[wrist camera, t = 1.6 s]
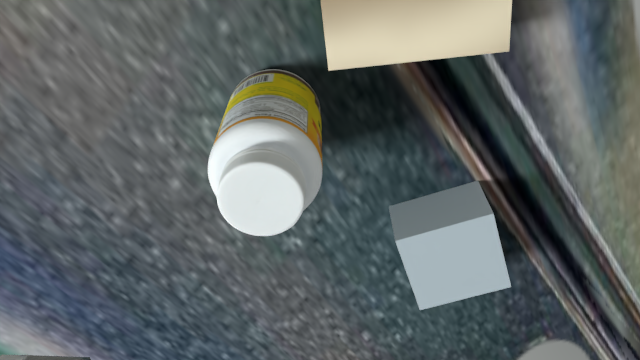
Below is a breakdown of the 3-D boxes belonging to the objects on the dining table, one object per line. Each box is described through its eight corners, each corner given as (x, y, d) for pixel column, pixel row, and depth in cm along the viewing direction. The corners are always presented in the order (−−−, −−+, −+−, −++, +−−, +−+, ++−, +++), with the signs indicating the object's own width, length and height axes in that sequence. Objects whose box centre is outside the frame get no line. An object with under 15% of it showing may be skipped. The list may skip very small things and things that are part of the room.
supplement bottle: (298, 163, 36) (291, 267, 27) (216, 129, 34) (180, 225, 26) (338, 89, 33) (344, 176, 24) (250, 48, 32) (223, 126, 23)
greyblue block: (494, 248, 39) (511, 286, 36) (411, 270, 40) (420, 310, 37) (477, 179, 36) (493, 213, 33) (388, 204, 37) (395, 241, 34)
